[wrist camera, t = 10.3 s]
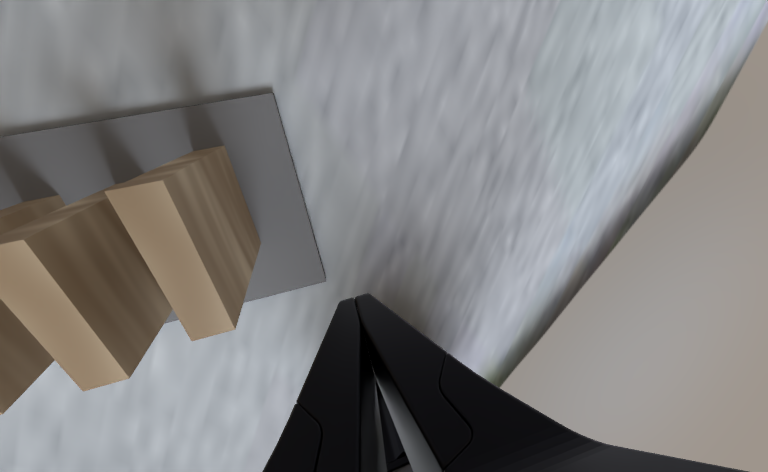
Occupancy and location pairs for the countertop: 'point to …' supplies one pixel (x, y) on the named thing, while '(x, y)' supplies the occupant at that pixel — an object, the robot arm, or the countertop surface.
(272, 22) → the countertop surface
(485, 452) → the robot arm
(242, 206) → the domino
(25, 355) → the domino
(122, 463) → the countertop surface
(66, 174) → the slate mat
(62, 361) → the domino
